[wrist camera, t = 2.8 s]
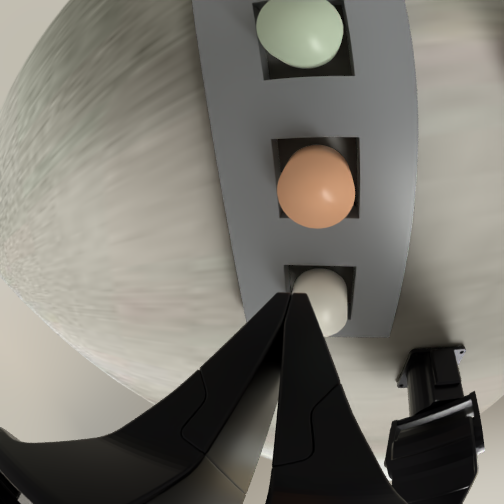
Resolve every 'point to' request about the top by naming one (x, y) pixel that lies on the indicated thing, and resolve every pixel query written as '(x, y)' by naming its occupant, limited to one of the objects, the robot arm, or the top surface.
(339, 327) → the button white
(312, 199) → the button terracotta
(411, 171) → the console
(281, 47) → the button sage
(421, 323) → the top surface
